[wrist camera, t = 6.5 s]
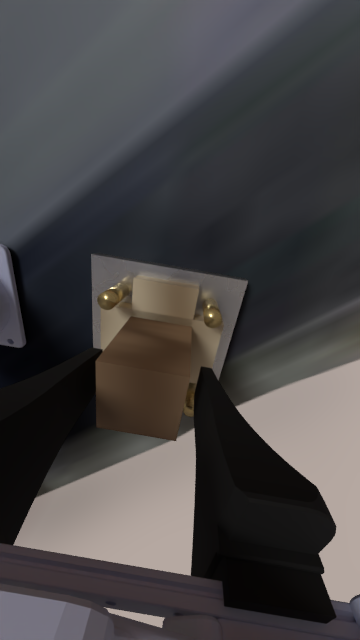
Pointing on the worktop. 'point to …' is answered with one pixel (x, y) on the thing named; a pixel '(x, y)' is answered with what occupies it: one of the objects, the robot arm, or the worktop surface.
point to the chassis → (214, 289)
